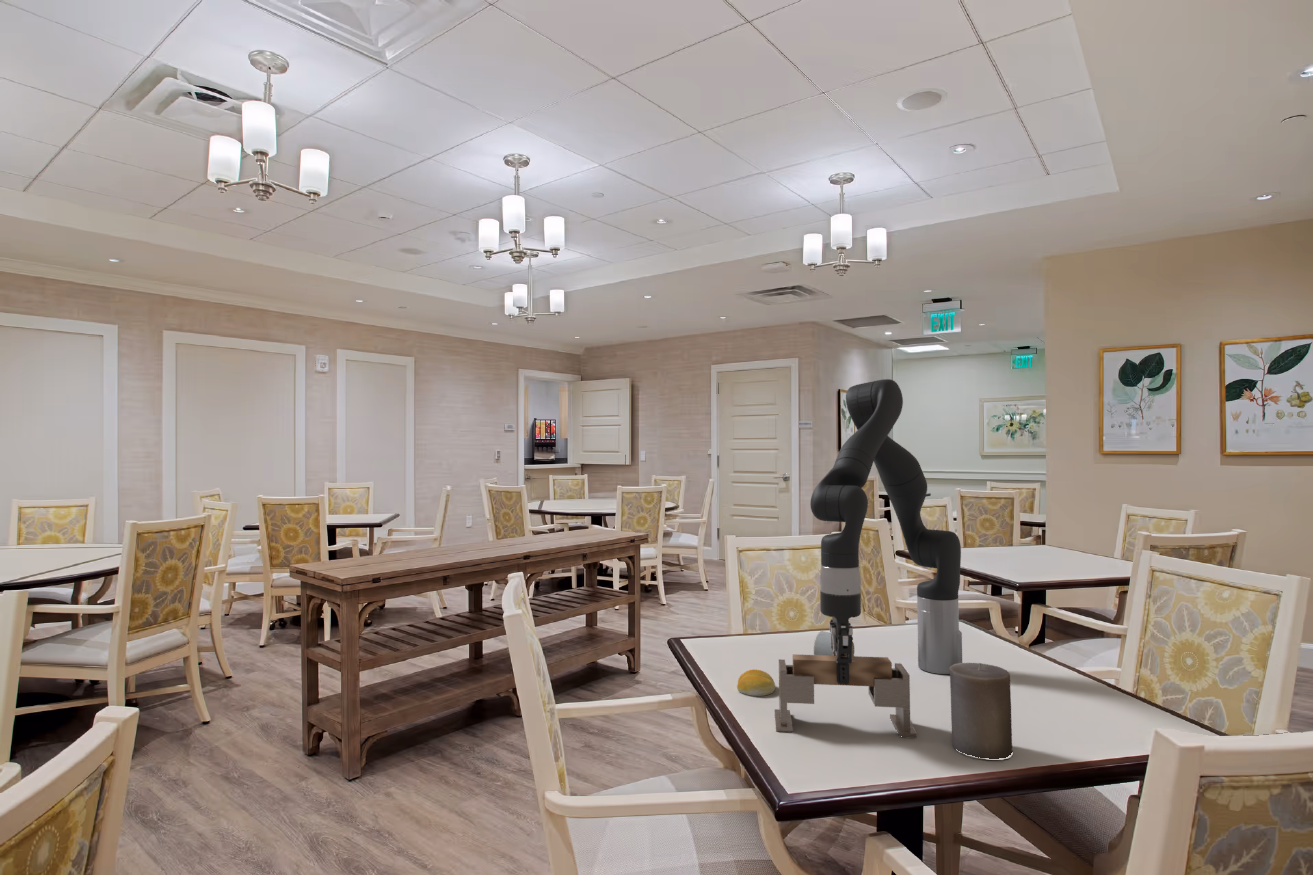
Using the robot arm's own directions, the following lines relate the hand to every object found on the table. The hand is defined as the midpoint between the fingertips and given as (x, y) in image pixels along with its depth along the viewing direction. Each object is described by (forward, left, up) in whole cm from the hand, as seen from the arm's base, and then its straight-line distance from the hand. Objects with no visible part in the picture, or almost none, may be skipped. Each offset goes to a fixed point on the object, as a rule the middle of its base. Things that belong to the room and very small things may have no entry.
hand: (841, 679), depth 130 cm
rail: (0, 0, 0) cm, 0 cm away
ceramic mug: (-4, -40, -9) cm, 41 cm away
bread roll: (+16, -18, -9) cm, 26 cm away
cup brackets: (0, 0, -9) cm, 9 cm away
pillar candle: (-23, +8, -9) cm, 25 cm away
